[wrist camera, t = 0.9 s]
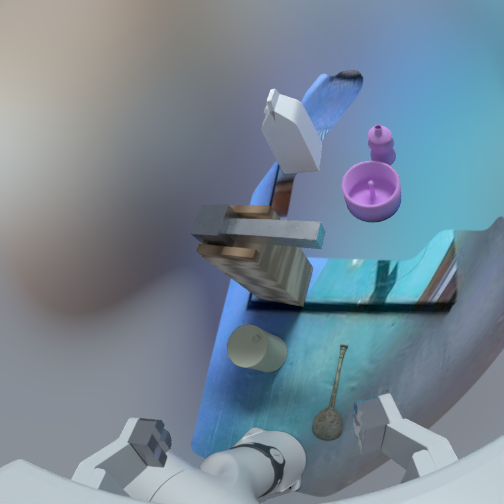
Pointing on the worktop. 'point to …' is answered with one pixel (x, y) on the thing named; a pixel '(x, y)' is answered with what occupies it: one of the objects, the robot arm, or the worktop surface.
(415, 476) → the robot arm
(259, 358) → the can
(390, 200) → the container set
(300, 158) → the milk
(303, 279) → the post
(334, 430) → the soupspoon
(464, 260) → the worktop surface
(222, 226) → the steel bar
